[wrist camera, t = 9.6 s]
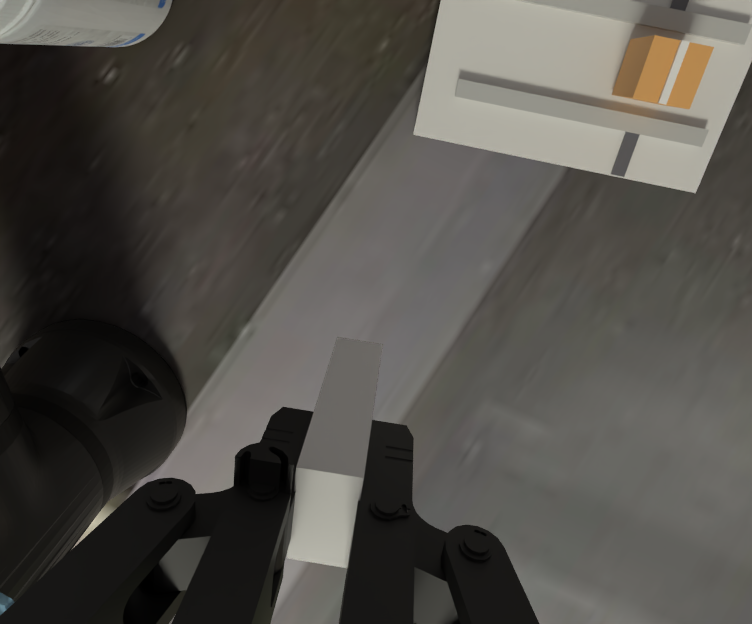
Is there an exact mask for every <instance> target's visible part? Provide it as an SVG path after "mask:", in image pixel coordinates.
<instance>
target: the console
mask: <svg viewBox="0 0 752 624" xmlns="http://www.w3.org/2000/svg"><path fill="white" fill-rule="evenodd" d="M653 35H657V36H662V37H667V38H672V39H677V40H684V41H689V42H691V43H696V44H701V45H706V46H711V47H714V49H713V51H712V54H711V56H710V59H709V61H708V64H707V66H706V69H705V72H704V74H703V77H702V79H701V82H700V84H699V87H698V89H697V92H696V94H695V97H694V99H693V102H692V104H691V107H690V109H683V108H677V107H671V106H665V105H659V104H654V103H649V102H644V101H640V100H635V99H630V98H625V97H620V96H615V95H612V92H613V89H614V86H615V83H616V81H617V78H618V75H619V72H620V69H621V66H622V63H623V60H624V57H625V54H626V51H627V48H628V45H629V42H630V39H635V38H641V37H647V36H653ZM751 61H752V0H441V2H440V7H439V12H438V17H437V21H436V26H435V31H434V36H433V41H432V46H431V51H430V56H429V61H428V65H427V70H426V75H425V80H424V85H423V90H422V95H421V100H420V104H419V109H418V114H417V119H416V124H415V129H414V134H413V135H418V136H422V137H427V138H432V139H437V140H442V141H447V142H451V143H456V144H461V145H466V146H471V147H476V148H480V149H485V150H490V151H495V152H500V153H504V154H509V155H514V156H519V157H524V158H529V159H533V160H538V161H543V162H548V163H553V164H558V165H562V166H567V167H572V168H577V169H582V170H587V171H591V172H596V173H601V174H606V175H611V176H615V177H620V178H625V179H630V180H635V181H640V182H644V183H649V184H654V185H659V186H664V187H669V188H673V189H678V190H683V191H688V192H693V193H696V191H697V188H698V186H699V184H700V181H701V179H702V177H703V174H704V172H705V170H706V167H707V165H708V162H709V160H710V158H711V155H712V153H713V151H714V148H715V146H716V144H717V141H718V139H719V137H720V134H721V132H722V130H723V127H724V125H725V122H726V120H727V118H728V115H729V113H730V111H731V108H732V106H733V104H734V101H735V99H736V97H737V94H738V92H739V89H740V87H741V85H742V82H743V80H744V78H745V75H746V73H747V71H748V68H749V66H750V64H751Z"/></svg>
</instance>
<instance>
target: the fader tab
mask: <svg viewBox="0 0 752 624" xmlns="http://www.w3.org/2000/svg"><path fill="white" fill-rule="evenodd" d="M713 49H714V47H711V46H706V45H701V44H696V43H691V42H689V41H684V40H677V39H672V38H667V37H662V36H657V35H653V36H647V37H641V38H635V39H630V42H629V45H628V48H627V51H626V54H625V57H624V60H623V63H622V66H621V69H620V72H619V75H618V78H617V81H616V83H615V86H614V89H613V92H612V95H615V96H620V97H625V98H630V99H635V100H640V101H644V102H649V103H654V104H659V105H665V106H671V107H677V108H683V109H690V107H691V104H692V102H693V99H694V97H695V94H696V92H697V89H698V87H699V84H700V82H701V79H702V77H703V74H704V72H705V69H706V66H707V64H708V61H709V59H710V56H711V54H712V51H713Z"/></svg>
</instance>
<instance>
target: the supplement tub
mask: <svg viewBox="0 0 752 624" xmlns="http://www.w3.org/2000/svg"><path fill="white" fill-rule="evenodd" d="M172 1H173V0H0V44H31V45H63V46H90V47H124V46H130V45H133V44H136V43H139V42H141V41H142V40H144V39H146V38H147V37H149V36H150V35H151V34H153V33H154V32H155V31H156V30H157V29H158V28H159V26H160V25H161V24H162V23H163V21H164V19H165V18H166V16H167V14H168V12H169V9H170V7H171V4H172Z"/></svg>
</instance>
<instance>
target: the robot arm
mask: <svg viewBox="0 0 752 624" xmlns="http://www.w3.org/2000/svg"><path fill="white" fill-rule="evenodd" d="M382 346H383V344H378V343H372V342H366V341H360V340H353V339H347V338H341V337H337V340H336V343H335V346H334V350H333V353H332V356H331V359H330V362H329V365H328V369H327V372H326V375H325V378H324V381H323V384H322V387H321V391H320V394H319V397H318V400H317V403H316V406H315V410H314V412H312V411H306V410H299V409H293V408H287V407H282V408H281V409H280V410H279V411H277V412H276V413H275V414H273V415H272V416H271V418H270V421H269V423H268V425H267V427H266V430H265V432H264V434H263V437H262V440H261V441H260V443H255V444H251V445H248V446H246V447H244V448H243V449H241V450H240V451H239V452H238V453H237V455H236V456H235V470H234V486H233V487H232V488H230V489H227V490H224V491H220V492H214V493H204V494H195V490H194V489H193V487H192V486H191V484H189V483H187V482H185V481H184V480H181V479H175V478H162V479H157V480H154V481H151V482H148V483H146V484H145V485H143V486H142V487H140V488H139V489H138V490H136V491H135V492H134V493H133V494H132V495H131V496H130V497H129V498H128V499H127V500H126V501H124V502H123V503H122V504H121V505H120V506H119V507H118V508H117V509H116V510H115V511H114V512H112V513H111V514H110V515H109V516H108V517H107V518H106V519H105V520H104V521H103V522H102V523H100V524H99V525H98V526H97V527H96V528H95V529H94V530H93V531H92V532H91V533H90V534H88V535H87V536H86V537H85V538H84V539H83V540H82V541H81V542H80V543H79V544H78V545H77V546H75V547H74V545H75V544H76V543H77V541H78V540H79V539H80V537H81V536H82V535H83V533H84V532H85V531H86V529H87V528H88V527H89V525H90V524H91V523H92V521H93V520H94V518H95V517H96V516H97V514H98V513H99V512H100V511H101V509H102V508H103V507H104V506H105V504H106V503H107V502H108V501H109V500H110V499H112V498H113V497H115V496H116V495H118V494H119V493H121V492H122V491H124V490H126V489H127V488H129V487H130V486H131V485H133V484H134V483H136V482H137V481H139V480H141V479H142V478H144V477H146V476H148V475H150V474H151V473H153V472H154V471H155V470H157V469H158V468H159V467H160V466H161V465H162V464H163V463H164V462H165V460H166V459H167V458H168V457H169V455H170V454H171V452H172V451H173V450H174V448H175V447H176V445H177V444H178V442H179V440H180V439H181V436H182V434H183V431H184V427H185V421H186V407H185V401H184V397H183V393H182V390H181V388H180V385H179V383H178V381H177V379H176V377H175V376H174V374H173V372H172V371H171V369H170V368H169V366H168V365H167V364H166V363H165V361H164V360H163V359H162V358H161V357H160V356H159V355H158V354H157V353H156V352H155V351H154V350H153V349H152V348H151V347H150V346H148V345H147V344H146V343H145V342H143V341H142V340H140V339H139V338H137V337H136V336H134V335H132V334H130V333H129V332H127V331H125V330H122V329H120V328H118V327H115V326H112V325H109V324H106V323H102V322H97V321H91V320H68V321H62V322H59V323H55V324H53V325H50V326H48V327H46V328H44V329H43V330H41V331H39V332H38V333H36V334H35V335H33V336H32V337H30V338H29V339H27V340H26V341H24V342H23V343H22V344H21V345H20V346H18V347H17V348H16V349H15V350H14V352H13V353H12V354H11V355H10V357H9V358H8V360H7V361H6V363H5V365H4V366H3V368H2V369H1V368H0V624H169V622H170V621H171V620H172V618H173V617H174V616H175V617H174V620H173V622H172V624H270V623H271V619H272V615H273V612H274V608H275V604H276V600H277V597H278V593H279V589H280V586H281V582H282V578H283V569H284V561H285V557H286V554H287V558H289V559H295V560H301V561H307V562H313V563H319V564H325V565H331V566H337V567H343V568H347V574H346V580H345V586H344V592H343V598H342V605H341V612H340V619H339V624H413V622H415V623H417V624H539V622H538V620H537V618H536V616H535V613H534V611H533V609H532V607H531V605H530V602H529V600H528V598H527V596H526V594H525V592H524V589H523V587H522V585H521V583H520V581H519V579H518V576H517V574H516V572H515V570H514V568H513V565H512V563H511V561H510V559H509V557H508V555H507V552H506V550H505V548H504V546H503V545H502V543H501V542H500V541H499V539H498V538H497V537H496V536H494V535H493V534H492V533H491V532H489V531H488V530H485V529H483V528H480V527H478V526H472V525H462V526H457V527H455V528H453V529H452V530H451V531H449V532H448V533H446V532H444V531H442V530H439V529H437V528H435V527H433V526H431V525H429V524H428V523H426V522H425V521H424V520H423V519H422V518H421V517H420V516H419V515H418V514H417V513H416V511H415V509H414V507H413V502H412V482H413V436H412V434H411V433H410V431H409V429H408V427H407V426H406V425H400V424H394V423H388V422H381V421H375V420H372V417H373V410H374V403H375V396H376V389H377V382H378V374H379V367H380V360H381V353H382ZM73 547H74V548H73ZM72 548H73V549H72ZM71 549H72V550H71ZM287 550H288V552H287ZM175 614H176V615H175Z"/></svg>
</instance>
